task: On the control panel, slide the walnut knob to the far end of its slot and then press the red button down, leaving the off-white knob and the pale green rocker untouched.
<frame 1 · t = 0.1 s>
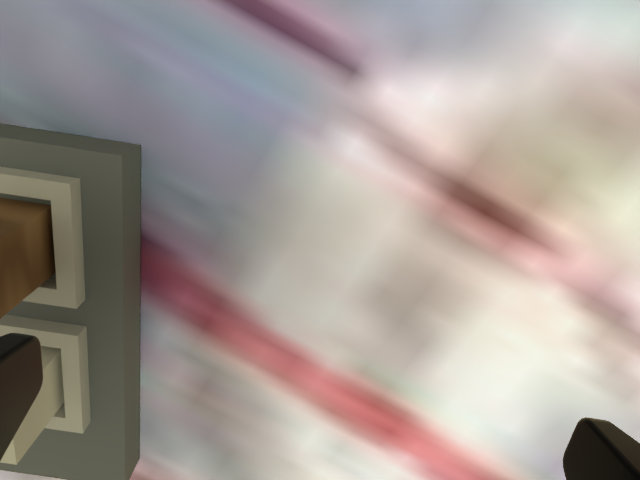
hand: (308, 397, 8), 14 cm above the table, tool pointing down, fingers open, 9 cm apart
offwhite knob: (13, 398, 22), point 4 cm above the table, slide at 0.0 cm
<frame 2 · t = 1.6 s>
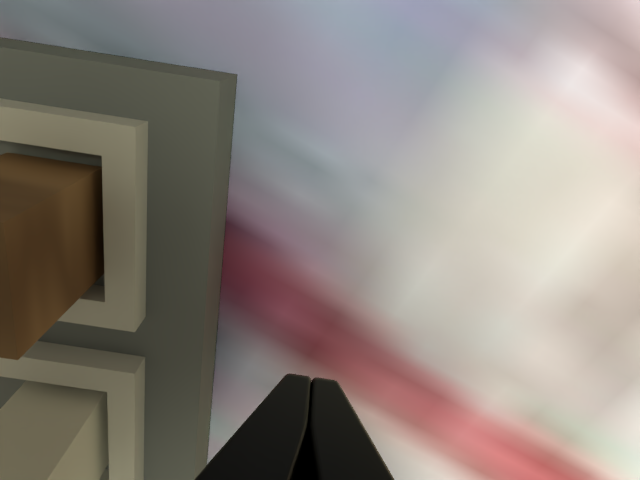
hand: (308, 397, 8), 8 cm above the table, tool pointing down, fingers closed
offwhite knob: (35, 471, 14), point 4 cm above the table, slide at 0.0 cm
walnut knob: (12, 244, 11), point 4 cm above the table, slide at 0.0 cm
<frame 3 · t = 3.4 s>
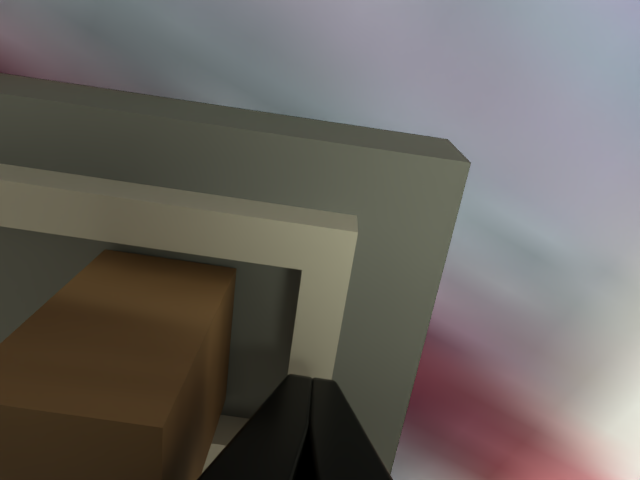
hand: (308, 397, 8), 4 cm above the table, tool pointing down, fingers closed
walnut knob: (127, 398, 8), point 4 cm above the table, slide at 0.9 cm, touching gripper
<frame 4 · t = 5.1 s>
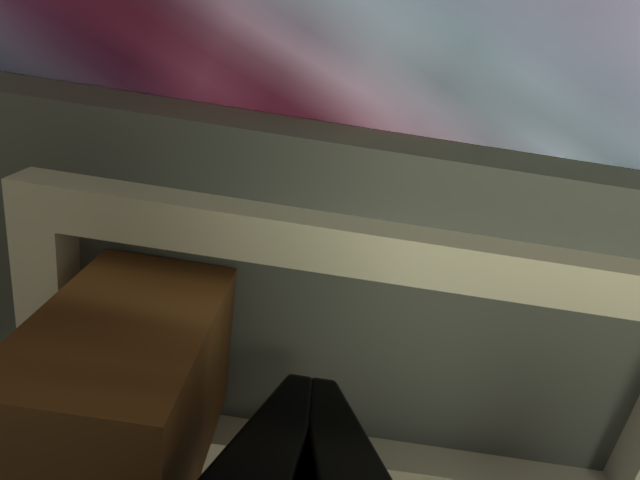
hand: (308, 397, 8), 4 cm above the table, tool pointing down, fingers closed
panel: (235, 451, 14), on the table
walnut knob: (127, 398, 8), point 4 cm above the table, slide at 7.8 cm, touching gripper
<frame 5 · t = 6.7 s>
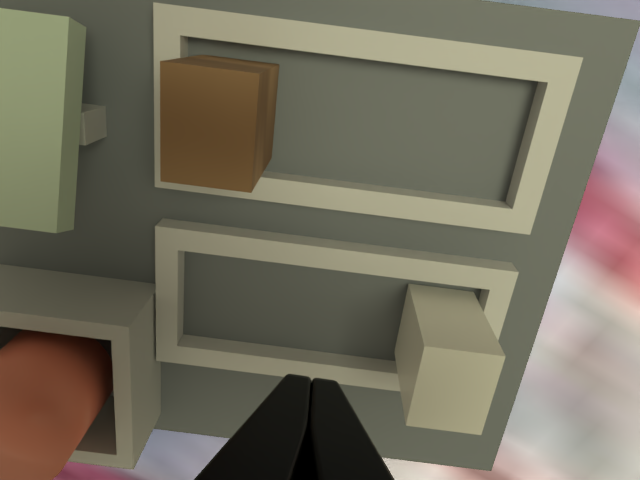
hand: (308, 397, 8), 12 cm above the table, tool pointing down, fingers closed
red button: (35, 400, 17), point 5 cm above the table, slide at 0.0 cm
offwhite knob: (442, 353, 17), point 4 cm above the table, slide at 0.0 cm
panel: (273, 231, 20), on the table
green rocker: (9, 121, 15), point 4 cm above the table, hinge at 15.0°
walnut knob: (225, 117, 14), point 4 cm above the table, slide at 7.8 cm
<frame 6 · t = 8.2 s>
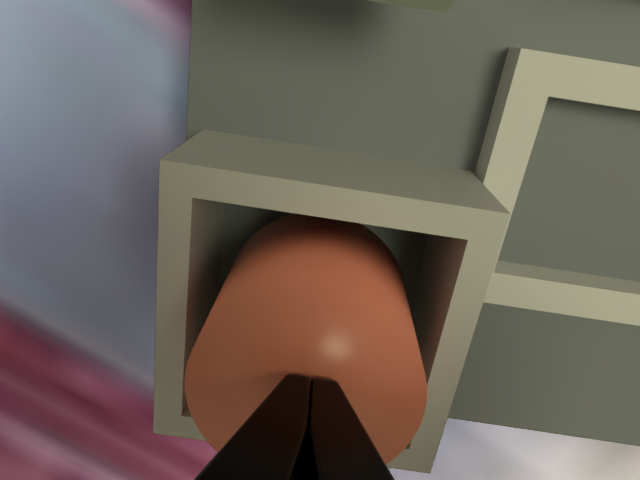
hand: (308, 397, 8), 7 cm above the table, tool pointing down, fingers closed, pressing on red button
red button: (311, 337, 10), point 5 cm above the table, slide at 0.4 cm, touching gripper
panel: (623, 101, 13), on the table
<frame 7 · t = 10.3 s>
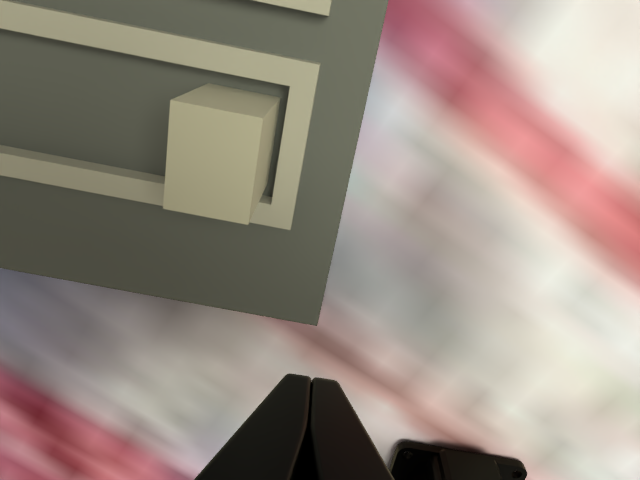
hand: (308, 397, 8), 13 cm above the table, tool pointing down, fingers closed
offwhite knob: (226, 148, 15), point 4 cm above the table, slide at 0.0 cm
panel: (77, 33, 18), on the table
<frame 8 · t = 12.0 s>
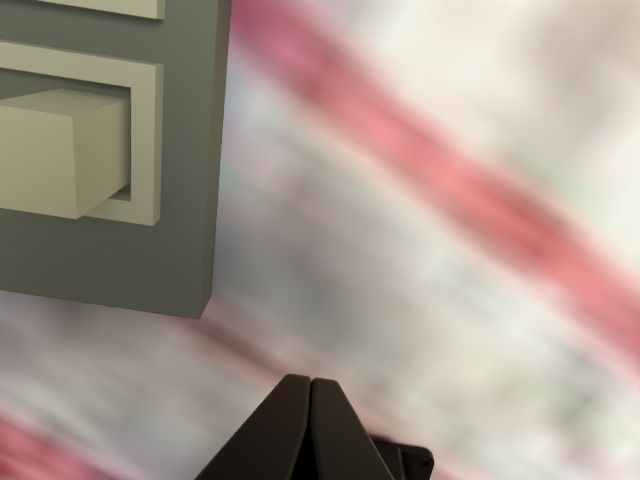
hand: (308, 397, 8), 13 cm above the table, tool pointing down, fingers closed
offwhite knob: (68, 148, 16), point 4 cm above the table, slide at 0.0 cm
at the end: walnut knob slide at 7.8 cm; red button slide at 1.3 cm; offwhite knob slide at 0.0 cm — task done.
